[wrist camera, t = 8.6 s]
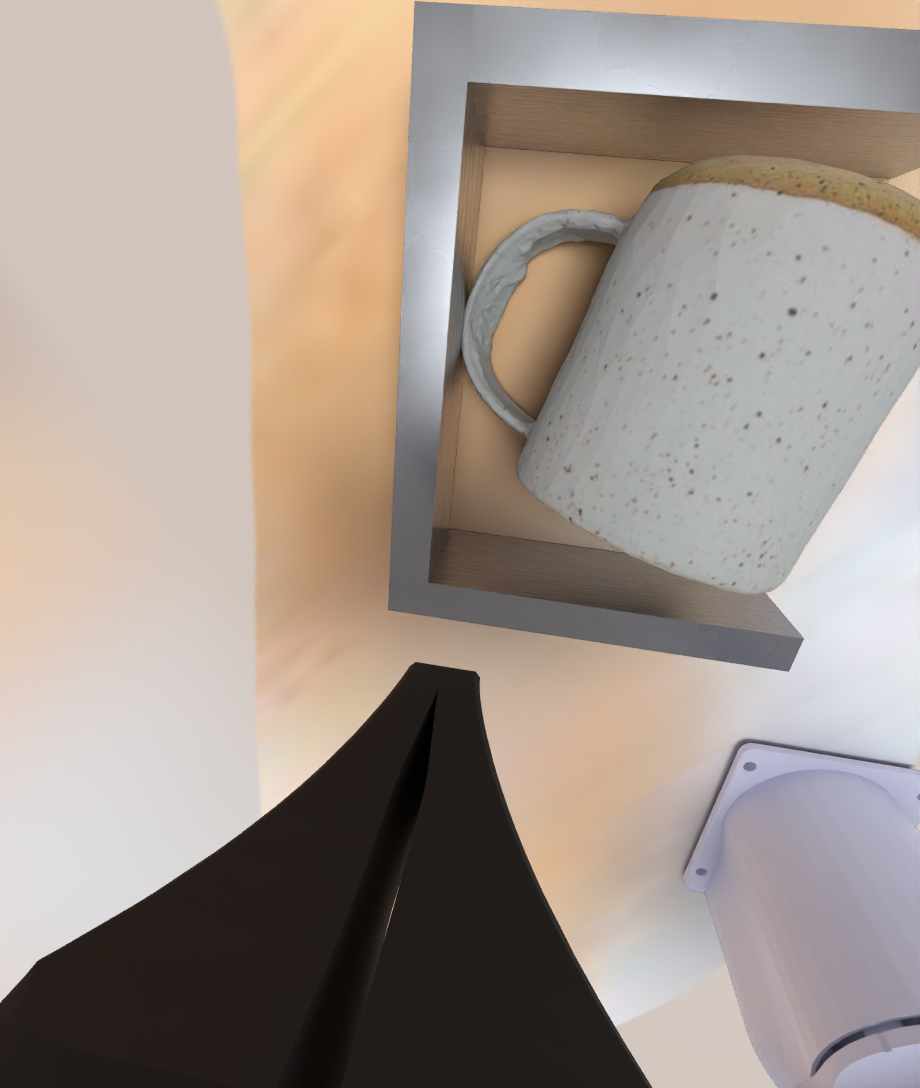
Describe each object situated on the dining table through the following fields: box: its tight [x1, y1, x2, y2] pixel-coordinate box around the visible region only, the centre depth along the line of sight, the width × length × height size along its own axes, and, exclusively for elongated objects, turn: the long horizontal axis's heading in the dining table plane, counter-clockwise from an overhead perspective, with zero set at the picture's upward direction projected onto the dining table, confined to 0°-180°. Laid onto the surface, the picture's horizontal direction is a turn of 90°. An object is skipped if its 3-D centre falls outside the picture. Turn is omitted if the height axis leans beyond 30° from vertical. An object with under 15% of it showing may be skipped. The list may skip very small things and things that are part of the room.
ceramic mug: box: [461, 155, 920, 594], centre depth 13 cm, size 11×8×8 cm
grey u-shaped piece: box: [388, 1, 920, 672], centre depth 15 cm, size 14×12×4 cm
